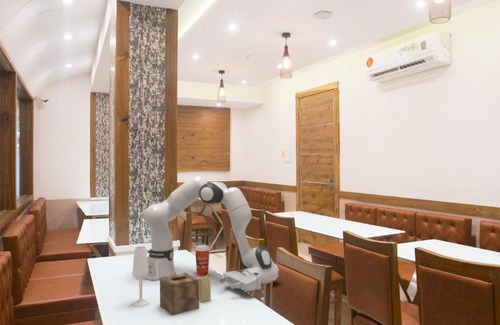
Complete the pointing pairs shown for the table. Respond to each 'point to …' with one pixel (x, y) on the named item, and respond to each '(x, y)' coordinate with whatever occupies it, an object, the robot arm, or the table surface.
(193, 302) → the walnut tip box
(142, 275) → the champagne flute
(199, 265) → the coffee cup
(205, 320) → the table surface
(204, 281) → the olive yellow block
